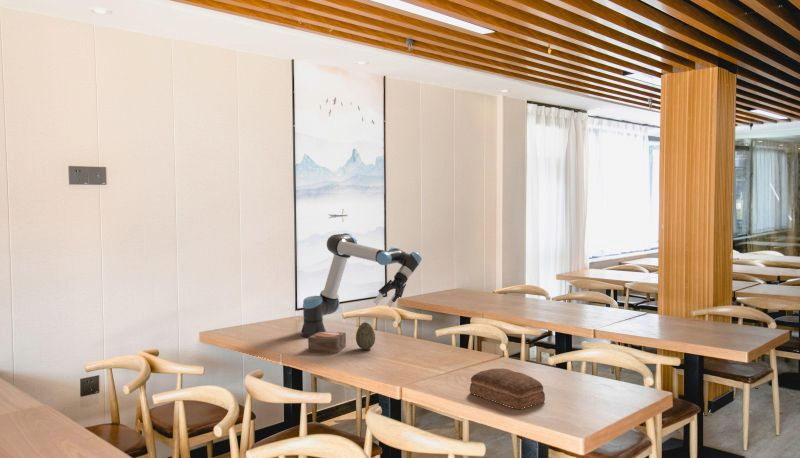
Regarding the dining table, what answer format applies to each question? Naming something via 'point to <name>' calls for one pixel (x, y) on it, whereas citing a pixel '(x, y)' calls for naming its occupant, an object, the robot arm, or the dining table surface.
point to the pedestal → (327, 342)
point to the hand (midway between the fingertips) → (381, 304)
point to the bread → (507, 388)
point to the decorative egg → (365, 336)
